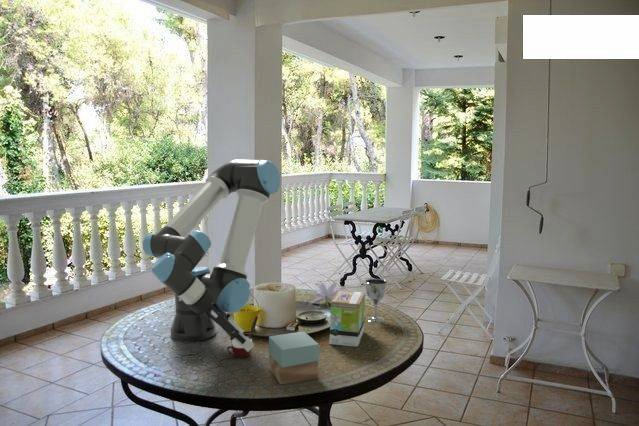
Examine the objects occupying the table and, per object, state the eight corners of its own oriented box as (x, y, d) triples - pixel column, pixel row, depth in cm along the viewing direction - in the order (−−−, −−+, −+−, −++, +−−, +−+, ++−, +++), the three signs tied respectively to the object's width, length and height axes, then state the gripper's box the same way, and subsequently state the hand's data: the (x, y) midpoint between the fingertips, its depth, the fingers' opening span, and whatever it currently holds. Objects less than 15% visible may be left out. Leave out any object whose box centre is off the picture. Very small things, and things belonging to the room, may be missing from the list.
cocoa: (226, 360, 156) (224, 322, 154) (231, 351, 162) (228, 315, 160) (257, 359, 155) (255, 322, 153) (260, 351, 161) (258, 315, 159)
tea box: (359, 347, 166) (360, 303, 164) (328, 344, 168) (329, 301, 166) (364, 331, 181) (365, 291, 179) (336, 329, 183) (337, 289, 181)
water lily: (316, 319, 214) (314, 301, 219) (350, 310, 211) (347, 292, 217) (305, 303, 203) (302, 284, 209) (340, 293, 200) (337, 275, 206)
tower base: (269, 369, 149) (269, 352, 149) (304, 363, 153) (304, 347, 153) (280, 385, 139) (280, 367, 139) (317, 379, 143) (318, 362, 143)
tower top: (268, 352, 149) (268, 336, 148) (303, 347, 153) (303, 331, 153) (282, 367, 139) (282, 349, 138) (318, 361, 143) (318, 344, 143)
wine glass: (389, 318, 195) (390, 280, 193) (380, 324, 188) (381, 285, 187) (370, 315, 199) (371, 277, 197) (361, 320, 193) (362, 281, 191)
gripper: (182, 295, 161) (229, 337, 168) (193, 317, 138) (246, 364, 145) (200, 278, 163) (245, 320, 169) (213, 296, 140) (265, 344, 146)
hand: (246, 340), depth 157 cm, fingers open, 13 cm apart
